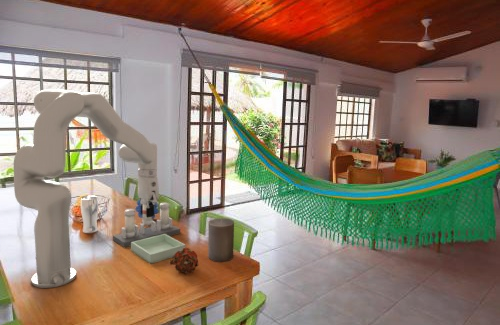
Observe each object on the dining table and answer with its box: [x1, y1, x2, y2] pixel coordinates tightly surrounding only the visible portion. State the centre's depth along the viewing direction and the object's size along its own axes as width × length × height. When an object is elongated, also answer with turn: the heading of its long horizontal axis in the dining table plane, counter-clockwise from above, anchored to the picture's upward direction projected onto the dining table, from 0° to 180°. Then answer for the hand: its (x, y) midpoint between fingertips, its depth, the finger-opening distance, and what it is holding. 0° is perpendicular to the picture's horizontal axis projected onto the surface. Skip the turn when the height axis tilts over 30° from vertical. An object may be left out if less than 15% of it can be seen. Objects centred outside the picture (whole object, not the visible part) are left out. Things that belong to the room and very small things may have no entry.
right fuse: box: [159, 202, 170, 230], centre depth 159 cm, size 4×4×11 cm
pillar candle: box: [207, 217, 235, 263], centre depth 137 cm, size 10×10×15 cm
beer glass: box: [80, 195, 99, 234], centre depth 157 cm, size 7×7×15 cm
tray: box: [130, 234, 186, 265], centre depth 139 cm, size 15×15×4 cm
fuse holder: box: [112, 216, 181, 248], centre depth 155 cm, size 10×26×6 cm, turn 134°
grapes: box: [135, 199, 160, 220], centre depth 174 cm, size 12×7×12 cm, turn 130°
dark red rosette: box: [169, 247, 199, 274], centre depth 125 cm, size 8×8×12 cm
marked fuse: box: [141, 199, 153, 226], centre depth 153 cm, size 4×4×11 cm
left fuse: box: [124, 208, 136, 238], centre depth 148 cm, size 4×4×11 cm
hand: (147, 215), depth 153 cm, fingers closed on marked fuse, 3 cm apart
